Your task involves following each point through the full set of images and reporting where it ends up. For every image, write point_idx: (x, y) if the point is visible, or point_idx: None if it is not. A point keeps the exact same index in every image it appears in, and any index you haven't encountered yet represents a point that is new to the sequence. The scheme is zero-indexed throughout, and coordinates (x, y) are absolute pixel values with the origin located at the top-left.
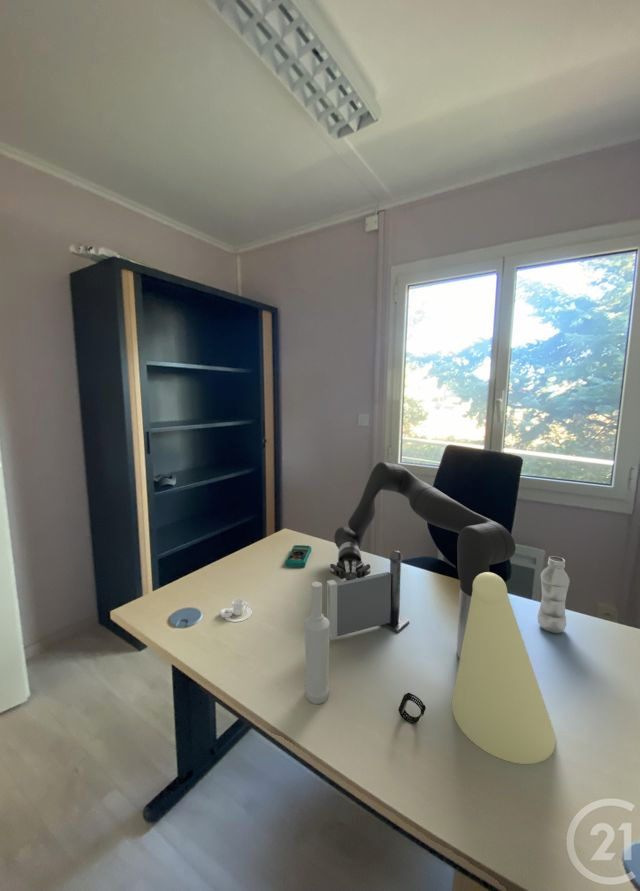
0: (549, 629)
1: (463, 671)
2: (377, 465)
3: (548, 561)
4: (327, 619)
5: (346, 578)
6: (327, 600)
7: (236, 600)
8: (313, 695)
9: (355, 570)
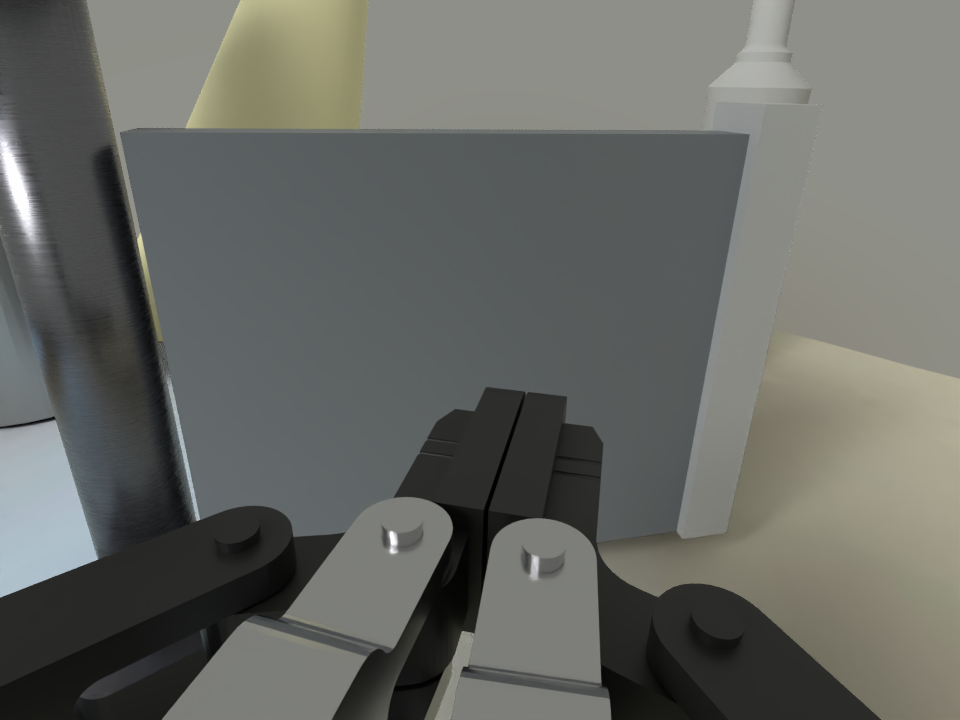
0: None
1: (356, 119)
2: None
3: None
4: (719, 82)
5: (595, 441)
6: (776, 284)
7: None
8: None
9: (330, 559)
